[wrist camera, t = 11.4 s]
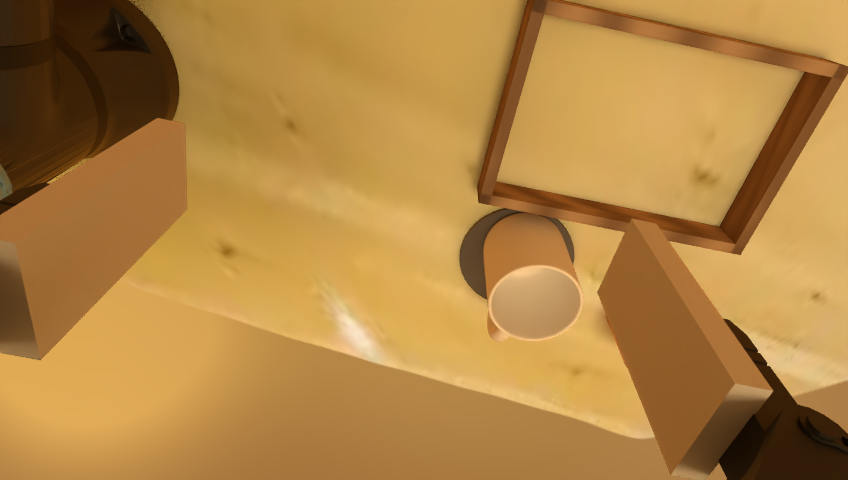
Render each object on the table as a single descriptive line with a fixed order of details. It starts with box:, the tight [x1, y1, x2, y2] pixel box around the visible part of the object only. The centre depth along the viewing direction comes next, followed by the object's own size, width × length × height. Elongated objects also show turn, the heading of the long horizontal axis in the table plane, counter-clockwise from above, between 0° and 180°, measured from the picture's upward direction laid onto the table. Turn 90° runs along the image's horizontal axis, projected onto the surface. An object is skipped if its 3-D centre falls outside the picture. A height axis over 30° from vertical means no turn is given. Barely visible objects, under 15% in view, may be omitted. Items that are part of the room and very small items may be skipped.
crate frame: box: [477, 0, 848, 255], centre depth 47 cm, size 26×18×4 cm
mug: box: [483, 213, 583, 342], centre depth 52 cm, size 12×8×10 cm
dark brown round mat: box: [460, 208, 574, 299], centre depth 56 cm, size 12×12×1 cm
